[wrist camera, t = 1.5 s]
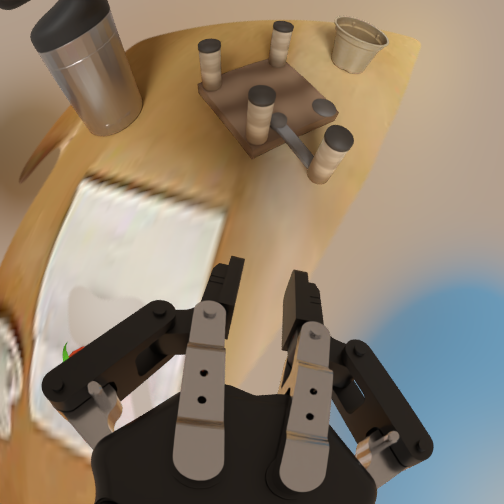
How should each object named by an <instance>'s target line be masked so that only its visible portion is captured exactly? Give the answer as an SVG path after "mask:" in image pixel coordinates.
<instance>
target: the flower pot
mask: <svg viewBox="0 0 504 504" xmlns="http://www.w3.org/2000/svg"><path fill="white" fill-rule="evenodd" d="M335 25H336V27H335V29H336V36H335V42H334V48H333V53H332V61H333V62H334V64H335V65H336V66H338V67H339V68H340V69H344V70H346V71H348V72H349V73H354V74H359V73H362V72H363V71H364V70H365V68H366V67H367V65H368V64H369V63H370V62H371V60H372V59H373V58H374V56H375V55H376V54H377V53H378V51H380V50H382V49H383V47H386V46H387V45H388V44H389V40H388V38H387V36H386V35H385V34H384V33H383V32H382V31H380V30H379V29H378V28H376V27H375V26H373V25H371V24H370V23H368V22H365V21H363V20H360V19H358V18H355V17H350V16H339V17H337V18H335Z"/></svg>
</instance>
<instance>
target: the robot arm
mask: <svg viewBox="0 0 504 504" xmlns="http://www.w3.org/2000/svg"><path fill="white" fill-rule="evenodd" d="M28 1H30V0H0V8H1V9H5V10H11V9H15V8H17V7H19V6H21V5H23V4H25V3H27V2H28ZM30 37H31V41H32V43H33V45H34V47H35V49H36V50H37V52H38V53H39V55H40V57H41V58H42V60H43V62H44V63H45V65H46V67H47V68H48V69H49V71H50V73H51V74H52V76H53V77H54V79H55V81H56V82H57V83H58V85H59V87H60V88H61V90H62V91H63V93H64V94H65V96H66V97H67V98H68V100H69V102H70V103H71V105H72V106H73V108H74V109H75V111H76V112H77V114H78V115H79V117H80V118H81V119H82V121H83V122H84V124H85V125H86V127H87V128H88V129H89V131H90V132H91V133H92V134H94V135H97V136H108V135H112V134H115V133H117V132H119V131H121V130H123V129H124V128H126V127H127V126H129V125H130V124H131V123H132V122H133V121H134V120H135V119H136V117H137V116H138V114H139V113H140V111H141V108H142V98H141V95H140V93H139V90H138V87H137V85H136V82H135V79H134V76H133V74H132V71H131V68H130V65H129V63H128V60H127V57H126V54H125V51H124V49H123V46H122V43H121V40H120V37H119V34H118V31H117V29H116V26H115V23H114V20H113V17H112V13H111V10H110V7H109V4H108V1H107V0H59V1H58V2H57V3H56V4H55V5H54V6H53V7H52V8H51V9H50V10H49V11H48V12H47V13H46V14H45V15H44V16H43V17H42V18H41V19H40V20H39V21H38V22H37V24H36V25H35V27H34V28H33V30H32V32H31V36H30ZM244 261H245V259H243V258H239V257H234V256H231V259H230V262H229V265H226V264H221V263H219V264H218V265H216V266H215V267H214V268H213V270H212V273H211V276H210V278H209V281H208V284H207V286H206V289H205V292H204V295H203V297H202V300H201V302H200V303H198V304H197V305H196V306H195V307H194V308H192V309H188V310H175V308H174V306H173V305H172V304H171V303H169V302H167V301H163V300H156V301H152V302H150V303H148V304H147V305H145V306H144V307H142V308H141V309H139V310H138V311H137V312H135V313H134V314H132V315H131V316H129V317H128V318H126V319H125V320H123V321H122V322H120V323H119V324H117V325H116V326H115V327H113V328H112V329H110V330H109V331H107V332H106V333H104V334H103V335H102V336H100V337H99V338H97V339H96V340H94V341H93V342H91V343H90V344H88V345H87V346H85V347H84V348H83V349H81V350H80V351H78V352H77V353H75V354H74V355H72V356H71V357H70V358H68V359H67V360H65V361H64V362H62V363H61V364H60V365H58V366H57V367H55V368H54V369H53V370H51V371H50V372H48V373H47V374H46V375H45V377H44V378H43V381H42V391H43V393H44V395H45V396H46V398H47V399H48V400H49V401H50V402H51V404H52V405H53V407H54V408H55V409H56V410H57V411H58V412H59V413H60V414H61V415H62V416H63V417H64V418H65V419H66V420H68V421H69V422H70V423H71V424H72V426H73V427H74V428H75V429H76V431H77V432H78V433H79V434H80V435H81V436H82V438H83V439H84V440H85V441H86V442H87V443H88V444H89V446H90V447H91V448H92V449H93V452H92V457H91V467H92V471H93V475H94V479H95V486H96V498H95V503H94V504H375V501H376V497H377V489H378V488H379V487H381V486H382V485H383V484H385V483H386V482H388V481H389V480H390V479H392V478H393V477H395V476H396V475H397V474H399V473H400V472H401V471H404V470H406V469H407V468H410V467H412V466H414V465H416V464H418V463H420V462H422V461H424V460H426V459H428V458H429V457H430V456H431V454H432V452H433V441H432V439H431V437H430V435H429V434H428V432H427V431H426V430H425V428H424V426H423V425H422V423H421V422H420V420H419V419H418V417H417V415H416V414H415V412H414V411H413V409H412V408H411V406H410V405H409V403H408V402H407V401H406V399H405V397H404V396H403V395H402V393H401V392H400V390H399V389H398V387H397V386H396V384H395V383H394V381H393V380H392V379H391V377H390V376H389V374H388V373H387V371H386V370H385V368H384V367H383V366H382V364H381V363H380V361H379V360H378V358H377V357H376V356H375V354H374V353H373V351H372V350H371V349H370V347H369V346H368V345H367V344H366V343H364V342H363V341H360V340H350V341H349V342H348V343H347V344H345V343H342V342H340V341H338V340H335V339H334V338H332V337H331V336H330V332H329V330H328V329H327V328H326V327H325V326H324V324H323V315H322V307H321V300H320V291H319V289H318V288H317V286H316V285H315V284H314V283H309V282H308V273H307V272H303V271H298V270H293V271H292V274H291V277H290V280H289V283H288V286H287V288H286V291H285V295H284V300H283V326H282V350H283V351H288V356H287V359H286V360H285V363H284V368H283V373H282V377H281V381H280V386H279V390H278V394H274V395H259V396H256V395H252V394H250V393H247V392H245V391H243V390H240V389H238V388H235V387H233V386H231V385H226V384H225V354H226V350H225V348H224V343H225V339H228V334H229V330H230V325H231V321H232V316H233V312H234V307H235V303H236V298H237V294H238V289H239V285H240V280H241V275H242V271H243V266H244ZM185 354H186V357H185V363H184V370H183V378H182V385H181V392H179V393H177V394H175V395H174V396H172V397H171V398H169V399H167V400H166V401H164V402H163V403H161V404H160V405H158V406H156V407H155V408H153V409H151V410H150V411H148V412H147V413H145V414H143V415H142V416H140V417H138V418H137V419H135V420H133V421H132V422H130V423H128V424H126V425H125V426H123V427H121V428H119V429H118V430H116V431H114V426H115V423H116V421H117V420H118V419H119V418H120V416H121V414H122V404H121V402H120V401H122V400H123V399H124V398H125V397H126V396H128V395H129V394H130V393H131V392H132V391H134V390H135V389H136V388H137V387H138V386H140V385H141V384H142V383H143V382H144V381H146V380H147V379H148V378H149V377H150V376H151V375H153V374H154V373H155V372H156V371H157V370H158V369H160V368H161V367H162V366H163V365H164V364H165V363H167V362H168V361H169V360H170V359H171V358H172V357H173V356H174V355H185ZM354 380H355V381H356V383H357V384H358V386H359V388H360V389H361V391H362V392H363V394H364V396H363V394H362V393H361V391H360V390H359V388H358V386H357V385H356V383H355V382H354ZM364 397H365V398H364ZM331 399H332V400H333V402H334V404H335V406H336V407H337V409H338V411H339V413H340V414H341V416H342V418H343V420H344V421H345V423H346V425H347V427H348V428H349V430H350V432H351V433H352V435H353V437H354V439H355V441H356V442H357V444H358V445H357V448H356V454H355V455H354V454H353V453H352V452H351V451H350V449H349V448H348V447H347V446H346V445H345V443H344V442H343V441H342V440H341V438H340V437H339V436H338V435H337V433H336V432H335V431H334V430H333V428H332V427H331V426H330V425H329V417H330V407H331Z"/></svg>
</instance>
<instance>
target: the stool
mask: <svg viewBox="0 0 504 504" xmlns="http://www.w3.org/2000/svg"><path fill="white" fill-rule="evenodd" d="M293 28H294V26H293V25H292V24H291V23H289V22H286V21H276V22H274V24H273V33H272V40H271V47H270V53H269V59H266V60H263V61H259V62H256V63H253V64H250V65H247V66H244V67H241V68H238V69H235V70H232V71H229V72H227V73H224V74H221V49H220V48H221V42H220V41H219V40H217V39H205V40H202V41H201V42H199V44H198V50H199V57H200V66H201V76H202V82H201V83H199V84H198V91H199V94H200V95H201V96H202V98H203V99H204V100H205V101H206V102H207V104H208V105H209V106H210V107H211V108H212V110H213V111H214V112H215V113H216V114H217V116H218V117H219V118H220V119H221V121H222V122H223V123H224V124H225V126H226V127H227V128H228V129H229V131H230V132H231V133H232V134H233V136H234V137H235V138H236V139H237V141H238V142H239V143H240V144H241V146H242V147H243V148H244V150H245V151H246V152H247V154H248V155H249V156H250V157H251V159H253V158H255V157H257V156H259V155H261V154H263V153H265V152H267V151H269V150H271V149H273V148H275V147H277V146H279V145H282V144H284V143H286V142H285V141H284V140H283V138H282V137H281V136H280V135H279V134H278V132H277V131H275V130H273V129H271V128H270V122H271V117H272V114H273V113H276V112H279V113H283V114H284V115H286V117H287V123H286V124H287V125H288V126H289V128H290V129H291V130H292V131H293V132H294V133H295V134H296V136H297V137H299V136H301V135H303V134H305V133H307V132H310V131H312V130H314V129H316V128H319V127H321V126H323V125H326V124H328V123H330V122H333V121H335V119H336V117H337V115H338V113H339V112H338V111H337V110H336V107H335V106H334V104H333V103H332V102H330V101H328V100H327V99H326V98H325V97H324V96H323V95H322V94H321V93H319V92H318V91H317V90H316V89H315V88H314V87H313V86H312V85H311V84H310V83H309V82H308V81H307V80H306V79H305V78H304V77H303V76H301V75H300V74H299V73H298V72H297V71H296V70H295V69H294V68H292V67H291V66H290V65H289V64H288V63H287V62H286V59H287V54H288V49H289V44H290V40H291V35H292V31H293Z"/></svg>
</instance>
